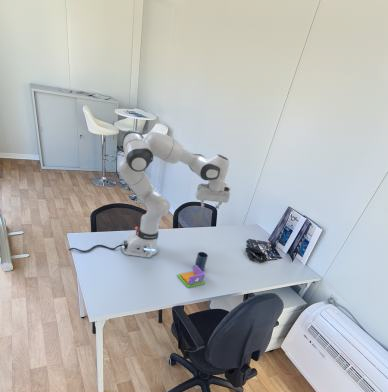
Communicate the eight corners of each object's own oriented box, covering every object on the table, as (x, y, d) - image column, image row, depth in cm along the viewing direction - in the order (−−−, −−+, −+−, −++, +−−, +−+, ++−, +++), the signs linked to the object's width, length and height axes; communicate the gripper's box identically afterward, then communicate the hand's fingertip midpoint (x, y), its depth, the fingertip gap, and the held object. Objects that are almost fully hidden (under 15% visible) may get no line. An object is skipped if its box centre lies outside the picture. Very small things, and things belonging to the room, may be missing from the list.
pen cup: (195, 271, 177) (199, 257, 171) (193, 265, 182) (196, 251, 176) (205, 271, 180) (209, 257, 173) (202, 265, 184) (206, 252, 178)
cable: (241, 249, 212) (243, 244, 209) (257, 249, 217) (259, 244, 215) (252, 262, 200) (254, 257, 197) (268, 262, 205) (271, 257, 202)
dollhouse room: (204, 283, 170) (207, 274, 166) (188, 287, 163) (190, 278, 159) (193, 271, 177) (196, 262, 173) (177, 275, 170) (179, 266, 166)
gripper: (200, 185, 160) (194, 208, 168) (233, 189, 167) (226, 211, 175) (197, 181, 164) (192, 203, 173) (229, 185, 171) (223, 206, 179)
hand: (209, 207), depth 174 cm, fingers open, 8 cm apart
